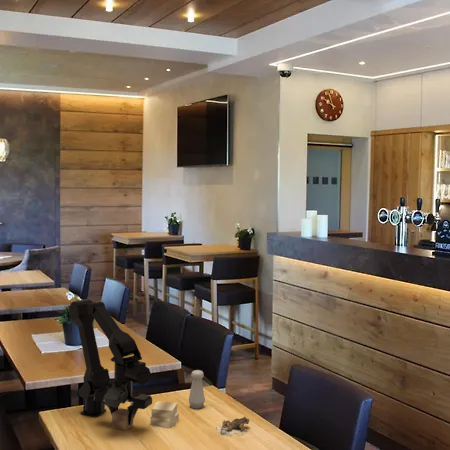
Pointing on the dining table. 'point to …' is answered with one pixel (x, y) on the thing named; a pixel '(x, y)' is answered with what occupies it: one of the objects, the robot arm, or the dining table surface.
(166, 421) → the beech slab lower
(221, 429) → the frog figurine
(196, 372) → the salt shaker
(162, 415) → the beech slab upper
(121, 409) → the walnut cube
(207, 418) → the dining table surface
